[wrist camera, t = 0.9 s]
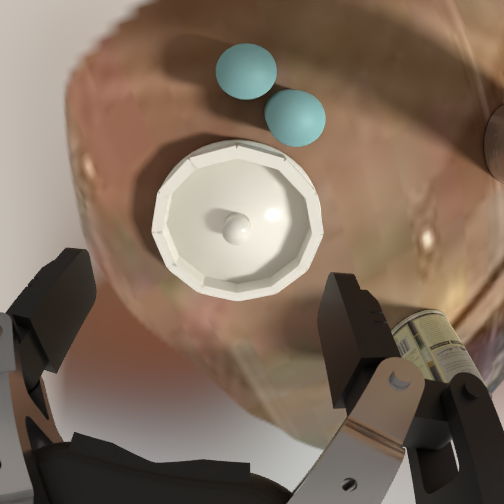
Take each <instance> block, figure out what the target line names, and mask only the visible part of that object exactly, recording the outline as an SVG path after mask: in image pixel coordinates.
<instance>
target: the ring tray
mask: <svg viewBox="0 0 504 504" xmlns="http://www.w3.org/2000/svg"><path fill="white" fill-rule="evenodd" d="M151 232H152V235H153V237H154V240H155V242H156V244H157V247H158V249H159V251H160V254H161V256H162V258H163V260H164V263H165V265H166V267H167V268H168V269H169V270H170V271H171V272H172V273H174V274H175V275H176V276H177V277H179V278H180V279H181V280H183V281H184V282H185V283H186V284H188V285H189V286H190V287H192V288H193V289H194V290H195V291H197V292H198V291H199V293H202V294H206V295H210V296H215V297H219V298H224V299H228V300H233V301H237V300H238V301H243V300H248V299H253V298H258V297H263V296H268V295H273V294H275V292H276V293H278V292H279V291H281V290H282V289H284V288H285V287H286V286H288V285H289V284H290V283H292V282H293V281H294V280H296V279H297V278H298V277H300V276H301V275H302V274H304V273H305V272H306V271H307V270H308V269H309V267H310V264H311V262H312V260H313V258H314V255H315V253H316V251H317V249H318V246H319V244H320V242H321V240H322V237H323V234H324V233H323V226H322V220H321V207H320V202H319V198H318V195H317V192H316V190H315V188H314V186H313V184H312V182H311V181H310V179H309V177H308V175H307V174H306V173H305V171H304V170H303V169H302V168H301V166H300V165H299V164H297V163H296V162H295V161H294V160H293V159H292V158H291V157H289V156H288V155H286V154H285V153H284V152H282V151H280V150H278V149H276V148H274V147H272V146H270V145H267V144H264V143H261V142H256V141H251V140H241V139H234V140H224V141H219V142H214V143H211V144H208V145H205V146H203V147H201V148H199V149H197V150H195V151H193V152H191V153H190V154H189V155H187V156H186V157H184V158H183V159H182V160H181V161H180V162H179V163H178V164H177V165H176V166H175V167H174V168H173V170H172V171H171V172H170V173H169V175H168V176H167V177H166V179H165V181H164V182H163V184H162V186H161V188H160V189H159V191H158V193H157V199H156V205H155V211H154V218H153V224H152V231H151Z"/></svg>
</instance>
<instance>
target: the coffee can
mask: <svg viewBox="0 0 504 504" xmlns="http://www.w3.org/2000/svg"><path fill="white" fill-rule="evenodd" d="M391 333H392V335H393V337H394V340H395V342H396V344H397V347H398V349H399V352H400V354H401V357H402V358H404V359H406V360H409V361H410V362H412V363H414V364H415V365H416V366H417V367H418V368H419V369H420V370H421V372H422V374H423V376H424V378H425V379H429V380H434V381H439V382H444V383H449V382H450V380H451V379H452V378H453V377H454V375H456V374H457V373H460V372H468V373H471V374H473V375H475V376H477V377H478V378H479V379H480V380H481V381H482V382H483V383H484V381H483V379H482V377H481V375H480V373H479V372H478V370H477V368H476V366H475V364H474V363H473V361H472V359H471V357H470V356H469V354H468V352H467V351H466V349H465V347H464V346H463V344H462V342H461V341H460V339H459V337H458V336H457V334H456V332H455V331H454V329H453V328H452V326H451V324H450V323H449V321H448V319H447V317H446V315H445V314H444V313H443V312H441V311H439V310H423V311H421V312H417V313H415V314H413V315H411V316H409V317H407V318H405V319H404V320H402V321H401V322H400V323H398V324H397V325H396V326H395V327H394V328H393V330H392V331H391ZM484 384H485V383H484ZM485 386H486V385H485ZM486 388H487V386H486ZM487 390H488V392H489V395H490V397H491V400H492V394H491V392H490V390H489V389H488V388H487Z"/></svg>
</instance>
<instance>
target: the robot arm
mask: <svg viewBox="0 0 504 504" xmlns="http://www.w3.org/2000/svg"><path fill="white" fill-rule="evenodd" d="M484 153H485V159H486V164H487V166H488V168H489V171H490V172H491V174H492V175H493V177H495V178H496V179H497V180H498V181H500V182H501V183H503V184H504V105H502V106H501V107H499V108H498V109H497V110H496V111H495V112H494V113H493V114H492V116H491V118H490V120H489V122H488V125H487V128H486V133H485V138H484ZM95 299H96V284H95V280H94V275H93V270H92V265H91V261H90V256H89V253H88V251H87V250H86V249H77V248H65V249H64V250H63V251H62V253H61V254H60V255H59V256H58V257H57V258H56V259H55V260H53V261H52V262H50V263H49V264H47V265H46V266H44V267H42V268H41V270H40V271H39V272H38V273H37V274H36V276H35V277H34V279H32V280H31V281H30V283H29V284H28V287H25V289H24V290H23V291H22V293H21V294H20V295H19V296H18V298H17V299H16V300H15V301H14V302H13V304H12V305H11V306H10V308H9V309H8V310H7V312H6V313H1V312H0V504H381V502H382V501H383V499H384V497H385V495H386V493H387V491H388V489H389V487H390V485H391V483H392V482H393V480H394V478H395V476H396V474H397V471H398V469H399V467H400V465H401V463H402V460H403V458H404V455H405V449H404V448H402V447H406V448H407V453H408V458H409V464H410V469H411V475H412V480H413V487H414V493H415V500H416V504H504V431H503V428H502V425H501V423H500V420H499V417H498V415H497V412H496V410H495V407H494V404H493V402H492V400H491V397H490V395H489V392H488V390H487V388H486V386H485V384H484V383H483V382H482V381H481V380H480V379H479V378H478V377H477V376H475V375H473V374H471V373H468V372H460V373H457V374H456V375H454V377H453V378H452V379H451V380H450V382H449V383H444V382H439V381H434V380H429V379H425V378H424V376H423V374H422V372H421V370H420V369H419V368H418V367H417V366H416V365H415V364H414V363H412V362H410V361H409V360H406V359H404V358H402V357H401V354H400V352H399V349H398V347H397V344H396V342H395V340H394V337H393V335H392V333H391V330H390V328H389V326H388V324H387V323H386V322H387V321H386V319H385V316H384V314H382V310H381V307H380V305H379V303H378V301H377V300H376V299H375V298H374V297H373V296H372V295H371V293H370V292H369V291H368V290H361V289H360V287H359V284H358V282H357V280H356V277H355V275H354V274H349V273H335V272H331V273H330V274H329V276H328V279H327V282H326V286H325V290H324V293H323V297H322V300H321V304H320V307H319V311H318V330H319V335H320V340H321V345H322V350H323V355H324V360H325V365H326V370H327V376H328V381H329V386H330V392H331V397H332V403H333V409H337V408H346V412H347V417H346V419H345V420H344V422H343V423H342V425H341V426H340V428H339V429H338V431H337V432H336V434H335V435H334V437H333V438H332V440H331V441H330V443H329V444H328V446H327V447H326V448H325V450H324V451H323V453H322V454H321V455H320V457H319V458H318V460H317V461H316V462H315V464H314V465H313V466H312V468H311V469H310V470H309V471H308V473H307V474H306V475H305V477H304V478H303V479H302V480H301V482H300V483H299V484H298V485H297V487H296V488H295V489H294V490H293V491H292V492H290V491H288V489H286V488H285V487H283V486H281V485H280V484H278V483H276V482H274V481H272V480H270V479H268V478H265V477H262V476H260V475H257V474H253V473H250V463H242V462H227V461H215V460H204V459H203V460H192V461H180V462H165V463H155V462H151V461H148V460H146V459H144V458H142V457H140V456H137V455H135V454H133V453H131V452H129V451H127V450H125V449H123V448H121V447H119V446H117V445H115V444H113V443H110V442H107V441H103V440H100V439H96V438H92V437H89V436H86V435H83V434H79V433H76V432H74V434H73V437H72V440H71V442H64V441H63V439H62V437H61V436H60V434H59V432H58V430H57V428H56V425H55V422H54V419H53V416H52V412H51V408H50V405H49V401H48V397H47V393H46V389H45V385H44V381H43V379H42V377H41V375H42V372H43V371H44V370H47V371H50V372H53V373H57V372H58V370H59V368H60V366H61V364H62V362H63V360H64V358H65V356H66V354H67V352H68V350H69V348H70V346H71V344H72V342H73V340H74V339H75V337H76V335H77V333H78V331H79V329H80V328H81V326H82V324H83V322H84V320H85V319H86V317H87V315H88V313H89V312H90V310H91V308H92V306H93V304H94V302H95ZM452 439H453V442H454V446H455V450H456V453H457V457H458V461H459V472H458V469H457V465H456V460H455V457H454V453H453V449H452V446H451V442H450V441H451V440H452Z"/></svg>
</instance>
